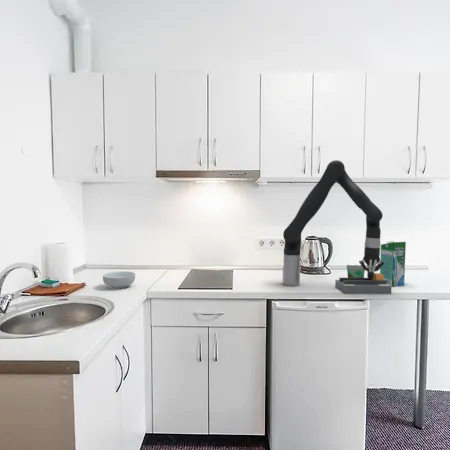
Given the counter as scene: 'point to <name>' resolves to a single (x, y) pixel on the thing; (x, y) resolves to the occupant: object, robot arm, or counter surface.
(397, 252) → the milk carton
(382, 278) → the switch knob
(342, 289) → the switch plate
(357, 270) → the food container
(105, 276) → the cereal bowl
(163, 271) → the counter surface
